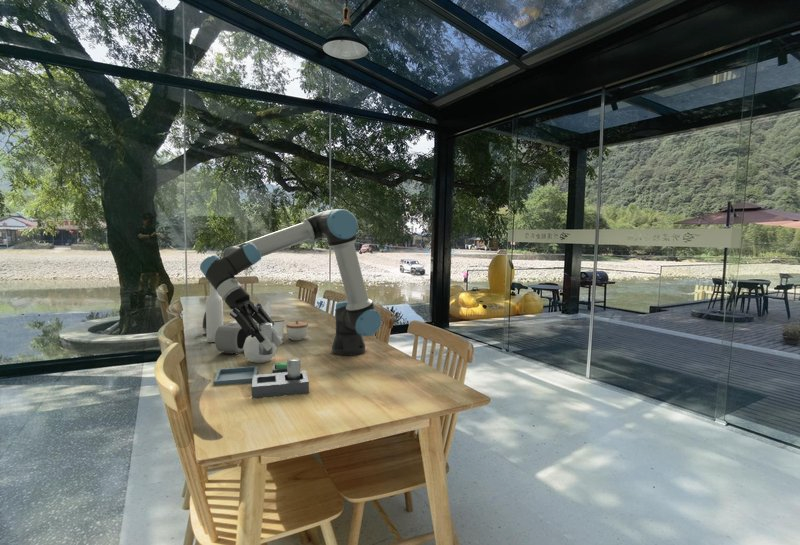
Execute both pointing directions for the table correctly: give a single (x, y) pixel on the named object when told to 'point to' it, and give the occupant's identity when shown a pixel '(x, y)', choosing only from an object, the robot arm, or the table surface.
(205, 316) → the pump dispenser
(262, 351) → the loose billet
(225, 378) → the tray
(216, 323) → the bottle
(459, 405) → the table surface
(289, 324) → the lidded jar
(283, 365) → the button
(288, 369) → the cylinder
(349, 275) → the robot arm
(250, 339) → the geodesic sphere
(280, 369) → the button housing
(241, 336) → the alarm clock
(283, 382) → the block
